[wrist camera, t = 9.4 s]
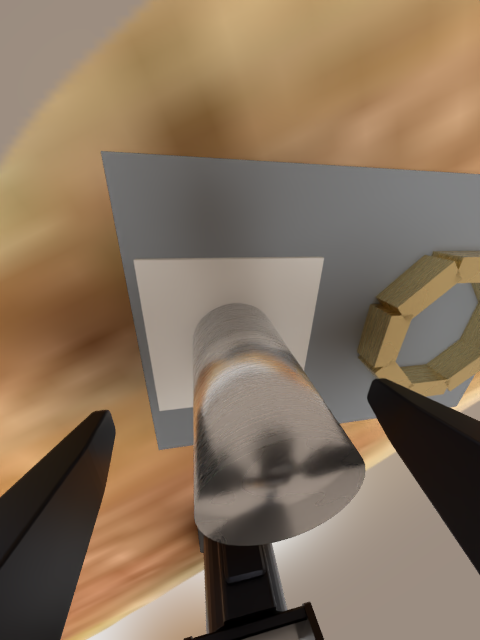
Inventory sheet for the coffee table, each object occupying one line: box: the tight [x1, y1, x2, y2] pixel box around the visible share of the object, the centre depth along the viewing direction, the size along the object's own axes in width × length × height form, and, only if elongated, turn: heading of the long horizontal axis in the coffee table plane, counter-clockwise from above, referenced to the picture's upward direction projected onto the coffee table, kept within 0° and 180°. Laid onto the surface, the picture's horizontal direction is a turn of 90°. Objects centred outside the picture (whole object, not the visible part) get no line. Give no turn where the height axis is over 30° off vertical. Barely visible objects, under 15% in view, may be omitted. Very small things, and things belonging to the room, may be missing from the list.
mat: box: [134, 257, 324, 411], centre depth 12 cm, size 8×8×1 cm
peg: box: [193, 303, 365, 546], centre depth 8 cm, size 4×4×7 cm
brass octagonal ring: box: [357, 251, 480, 397], centre depth 13 cm, size 8×8×2 cm
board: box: [101, 151, 480, 450], centre depth 13 cm, size 15×22×1 cm
